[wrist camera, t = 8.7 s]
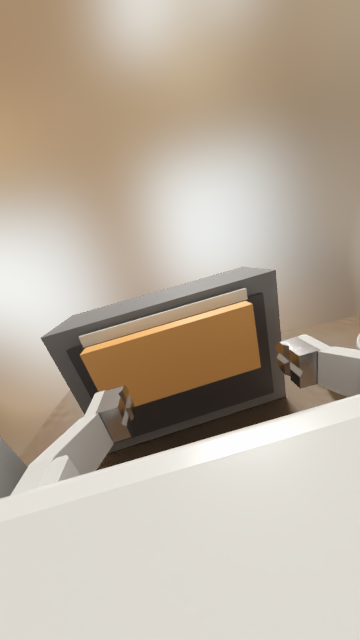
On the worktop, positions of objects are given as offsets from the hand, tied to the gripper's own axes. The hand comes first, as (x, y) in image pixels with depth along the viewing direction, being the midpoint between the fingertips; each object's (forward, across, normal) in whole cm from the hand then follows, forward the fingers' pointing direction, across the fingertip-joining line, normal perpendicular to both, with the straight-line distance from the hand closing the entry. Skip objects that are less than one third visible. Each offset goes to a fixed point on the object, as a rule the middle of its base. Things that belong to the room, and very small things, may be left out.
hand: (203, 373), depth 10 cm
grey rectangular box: (+15, -2, -16) cm, 22 cm away
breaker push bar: (+9, -2, -7) cm, 11 cm away
